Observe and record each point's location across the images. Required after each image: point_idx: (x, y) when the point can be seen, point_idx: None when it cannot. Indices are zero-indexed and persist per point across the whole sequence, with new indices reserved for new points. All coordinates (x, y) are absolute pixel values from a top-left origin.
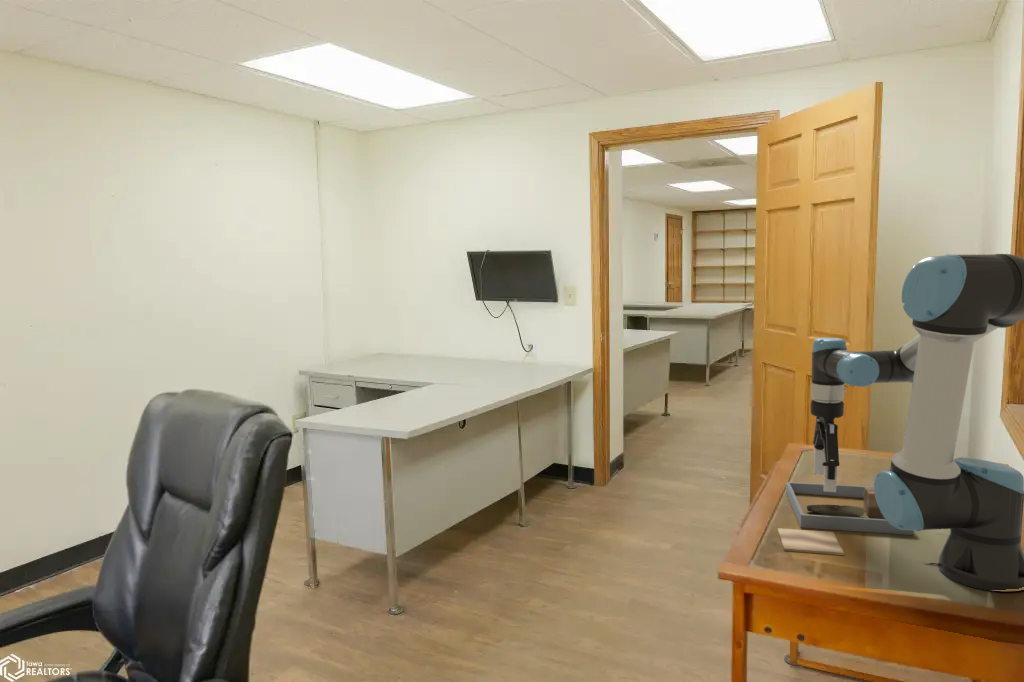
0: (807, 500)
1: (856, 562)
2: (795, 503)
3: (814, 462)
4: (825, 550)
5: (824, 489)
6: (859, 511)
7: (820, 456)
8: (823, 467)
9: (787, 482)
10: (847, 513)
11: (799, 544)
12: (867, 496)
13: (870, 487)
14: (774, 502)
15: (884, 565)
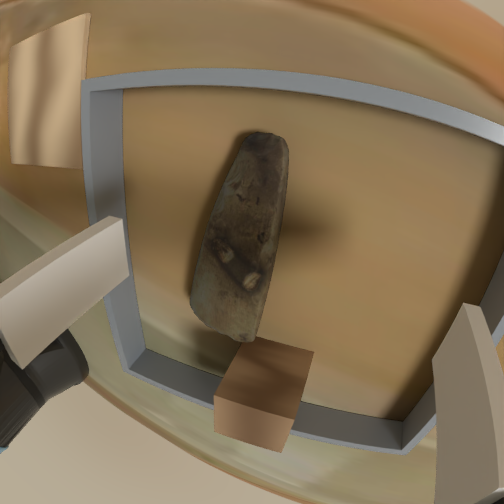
0: (445, 200)
1: (4, 176)
2: (216, 68)
3: (490, 371)
4: (10, 128)
5: (102, 222)
6: (205, 315)
7: (462, 454)
8: (443, 390)
9: None
10: (195, 272)
11: (21, 76)
12: (240, 387)
13: (415, 436)
14: (410, 26)
15: (11, 219)
